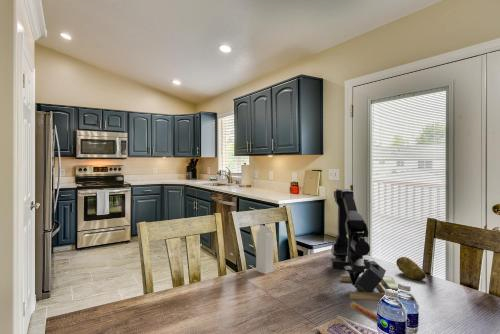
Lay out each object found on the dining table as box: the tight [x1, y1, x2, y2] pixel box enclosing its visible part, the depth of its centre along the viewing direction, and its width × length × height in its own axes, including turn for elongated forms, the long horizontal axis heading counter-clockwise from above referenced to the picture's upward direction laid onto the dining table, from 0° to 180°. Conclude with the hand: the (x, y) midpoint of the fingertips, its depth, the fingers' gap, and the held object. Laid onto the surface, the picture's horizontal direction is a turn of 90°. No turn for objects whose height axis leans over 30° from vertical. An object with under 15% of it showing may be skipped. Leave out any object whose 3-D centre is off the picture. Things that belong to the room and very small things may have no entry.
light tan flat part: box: [340, 274, 399, 301], centre depth 122 cm, size 17×22×4 cm
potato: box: [396, 256, 426, 281], centre depth 137 cm, size 8×13×8 cm, turn 8°
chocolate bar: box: [350, 301, 378, 323], centre depth 104 cm, size 3×12×2 cm, turn 30°
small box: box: [353, 264, 387, 293], centre depth 120 cm, size 11×6×10 cm
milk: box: [255, 224, 275, 275], centre depth 141 cm, size 6×6×22 cm
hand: (353, 285), depth 122 cm, fingers closed, pressing on small box
